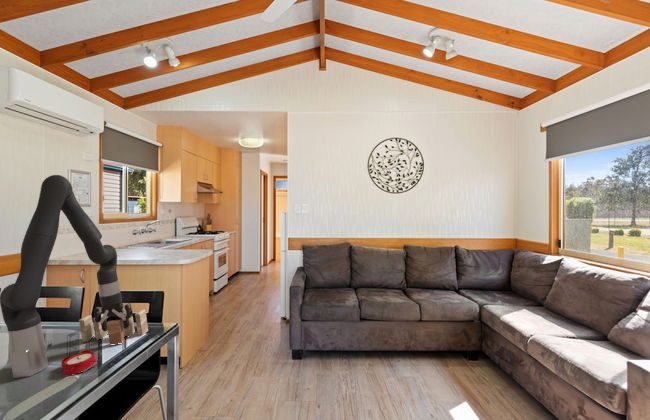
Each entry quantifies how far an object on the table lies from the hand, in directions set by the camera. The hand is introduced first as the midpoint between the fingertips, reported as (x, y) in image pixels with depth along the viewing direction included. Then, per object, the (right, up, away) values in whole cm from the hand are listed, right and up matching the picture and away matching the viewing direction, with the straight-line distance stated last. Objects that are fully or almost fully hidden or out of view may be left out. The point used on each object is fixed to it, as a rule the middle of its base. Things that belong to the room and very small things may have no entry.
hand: (116, 329), depth 141 cm
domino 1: (-17, -7, +7) cm, 20 cm away
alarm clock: (-3, -8, -17) cm, 19 cm away
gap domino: (+1, -6, 0) cm, 6 cm away
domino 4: (+7, -5, +8) cm, 12 cm away
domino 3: (+1, -5, +8) cm, 9 cm away
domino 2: (-11, -6, +7) cm, 15 cm away
